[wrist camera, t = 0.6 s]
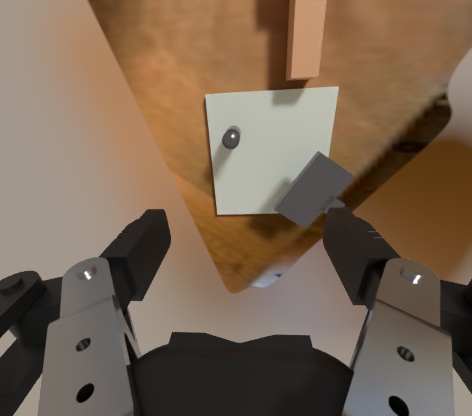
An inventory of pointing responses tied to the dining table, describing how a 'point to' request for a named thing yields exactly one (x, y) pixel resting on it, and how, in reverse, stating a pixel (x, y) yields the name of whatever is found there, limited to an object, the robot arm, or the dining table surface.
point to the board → (266, 143)
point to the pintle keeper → (306, 186)
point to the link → (304, 38)
